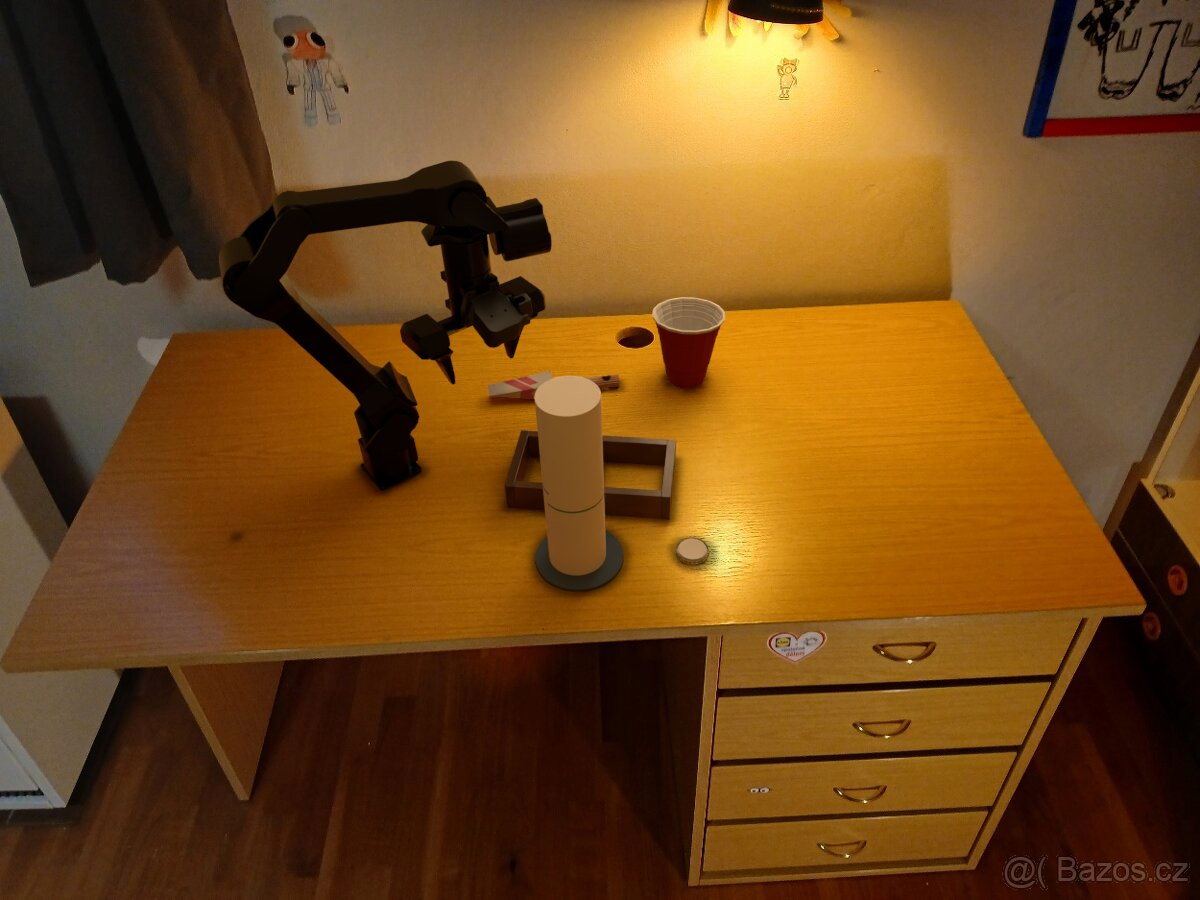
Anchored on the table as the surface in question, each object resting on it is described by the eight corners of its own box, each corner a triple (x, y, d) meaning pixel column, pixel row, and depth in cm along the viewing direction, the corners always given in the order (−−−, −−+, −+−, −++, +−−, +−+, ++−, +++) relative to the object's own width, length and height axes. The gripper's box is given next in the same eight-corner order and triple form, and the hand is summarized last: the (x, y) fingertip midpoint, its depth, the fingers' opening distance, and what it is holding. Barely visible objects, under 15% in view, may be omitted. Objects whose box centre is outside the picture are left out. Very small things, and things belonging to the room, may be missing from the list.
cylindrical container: (591, 526, 117) (583, 368, 101) (615, 563, 112) (612, 404, 96) (540, 544, 115) (524, 387, 99) (563, 583, 110) (550, 424, 94)
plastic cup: (726, 362, 144) (731, 297, 137) (714, 403, 137) (719, 336, 129) (659, 353, 147) (660, 288, 139) (643, 392, 139) (644, 326, 131)
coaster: (570, 606, 108) (570, 604, 108) (518, 552, 115) (518, 550, 114) (641, 562, 113) (641, 560, 113) (588, 513, 120) (588, 511, 119)
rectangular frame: (507, 507, 121) (504, 485, 118) (523, 451, 129) (521, 429, 127) (669, 519, 118) (670, 497, 116) (675, 461, 127) (676, 439, 124)
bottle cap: (703, 567, 112) (703, 564, 112) (671, 559, 113) (672, 555, 113) (712, 545, 115) (712, 541, 114) (681, 537, 116) (681, 533, 115)
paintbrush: (487, 374, 138) (617, 366, 141) (488, 389, 140) (616, 380, 142) (488, 390, 135) (621, 381, 138) (489, 404, 137) (620, 395, 139)
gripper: (434, 321, 103) (452, 427, 113) (567, 267, 111) (573, 370, 122) (388, 282, 110) (409, 386, 120) (516, 234, 118) (526, 334, 129)
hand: (481, 369), depth 122 cm, fingers open, 9 cm apart
